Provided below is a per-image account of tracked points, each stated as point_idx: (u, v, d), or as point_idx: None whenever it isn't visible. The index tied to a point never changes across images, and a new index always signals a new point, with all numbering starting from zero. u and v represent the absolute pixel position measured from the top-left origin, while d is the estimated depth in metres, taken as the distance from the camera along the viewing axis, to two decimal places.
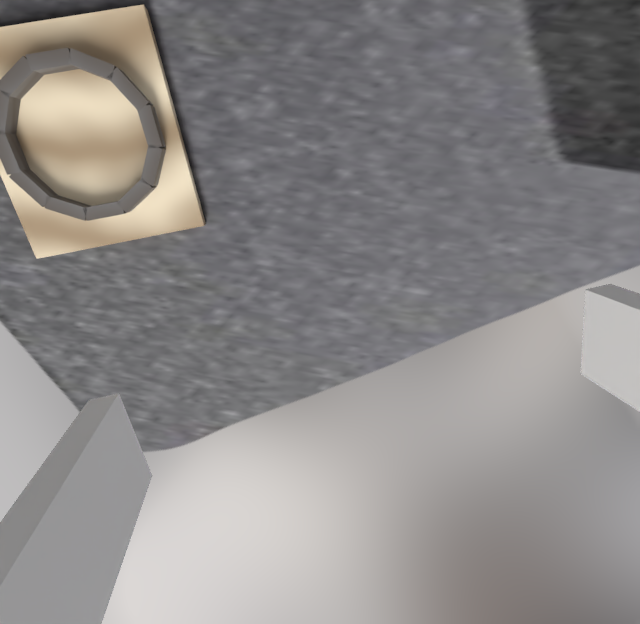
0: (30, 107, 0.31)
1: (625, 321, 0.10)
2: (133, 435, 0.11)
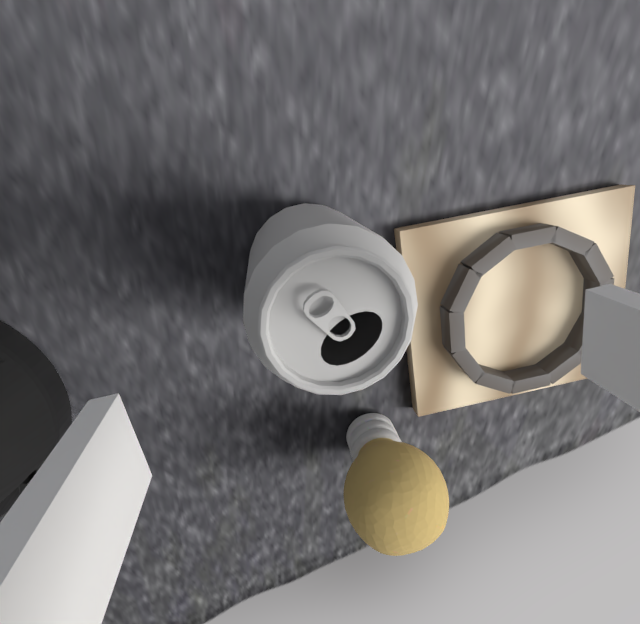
0: (482, 355, 0.30)
1: (625, 321, 0.10)
2: (133, 435, 0.11)
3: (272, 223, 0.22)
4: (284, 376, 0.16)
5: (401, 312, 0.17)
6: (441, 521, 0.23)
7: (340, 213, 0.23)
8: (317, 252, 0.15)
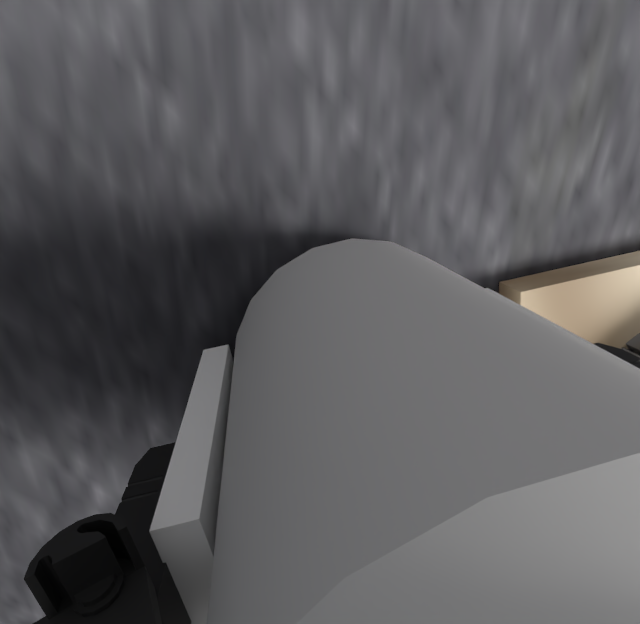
0: None
1: None
2: None
3: (289, 300, 0.09)
4: None
5: None
6: None
7: (443, 267, 0.10)
8: None
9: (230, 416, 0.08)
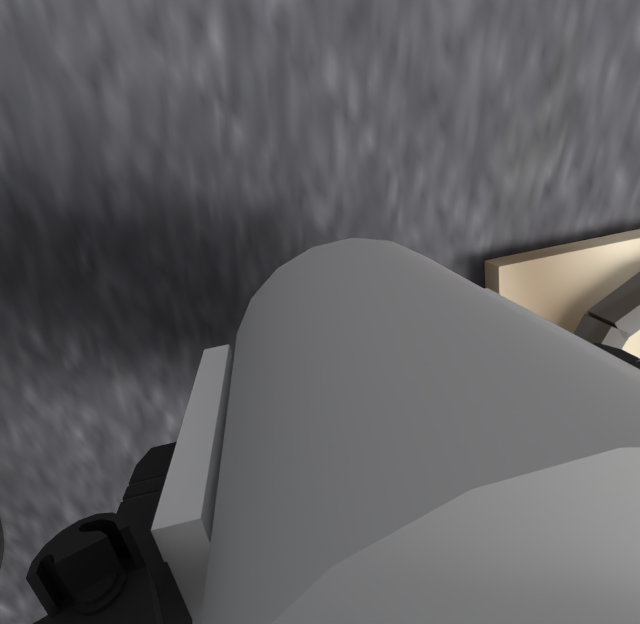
0: None
1: None
2: None
3: (288, 299, 0.09)
4: None
5: None
6: None
7: (441, 267, 0.10)
8: None
9: (229, 412, 0.08)
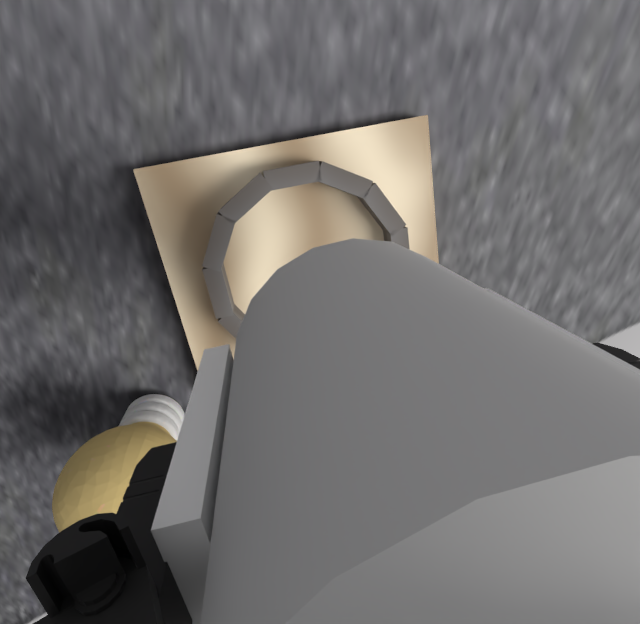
0: None
1: None
2: None
3: (289, 300, 0.09)
4: None
5: None
6: None
7: (443, 268, 0.10)
8: None
9: (228, 415, 0.08)
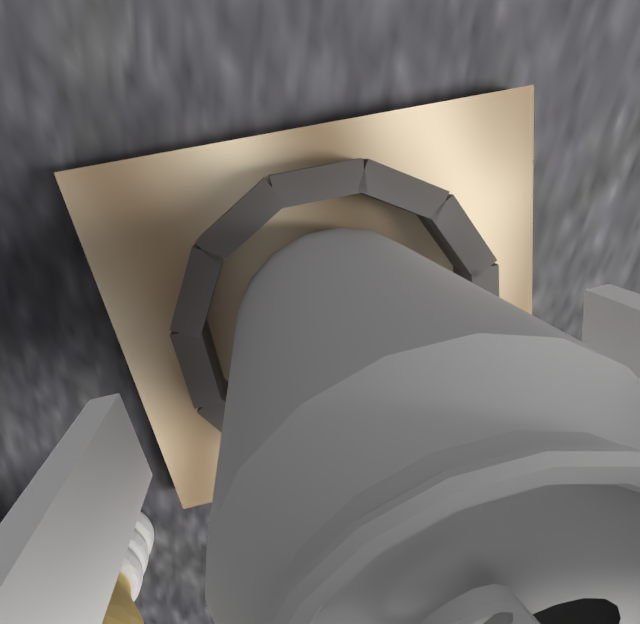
0: None
1: (624, 321, 0.10)
2: (134, 435, 0.11)
3: (282, 273, 0.11)
4: None
5: None
6: None
7: (411, 250, 0.12)
8: (484, 481, 0.04)
9: (232, 362, 0.10)
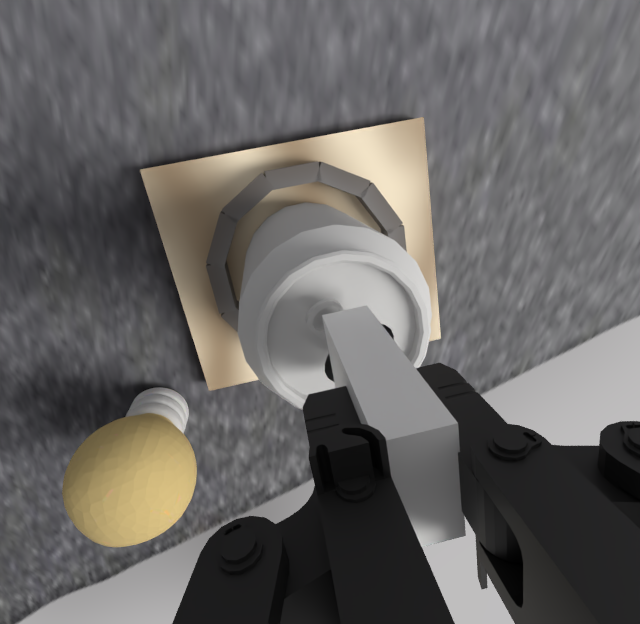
0: None
1: None
2: None
3: (271, 223, 0.20)
4: (283, 395, 0.15)
5: (414, 324, 0.15)
6: (161, 505, 0.20)
7: None
8: (323, 257, 0.13)
9: (245, 267, 0.19)
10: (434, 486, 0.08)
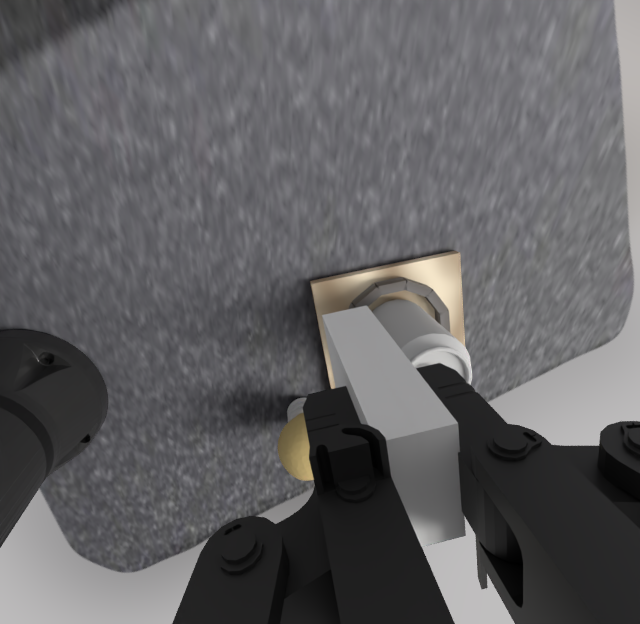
0: None
1: None
2: None
3: (386, 317, 0.40)
4: None
5: (464, 374, 0.35)
6: None
7: (420, 308, 0.41)
8: (431, 350, 0.33)
9: None
10: (434, 486, 0.08)
